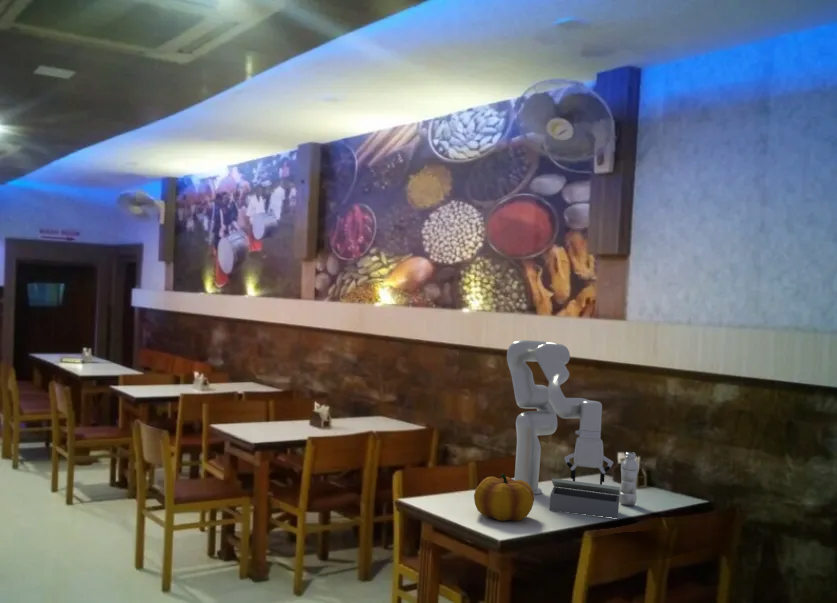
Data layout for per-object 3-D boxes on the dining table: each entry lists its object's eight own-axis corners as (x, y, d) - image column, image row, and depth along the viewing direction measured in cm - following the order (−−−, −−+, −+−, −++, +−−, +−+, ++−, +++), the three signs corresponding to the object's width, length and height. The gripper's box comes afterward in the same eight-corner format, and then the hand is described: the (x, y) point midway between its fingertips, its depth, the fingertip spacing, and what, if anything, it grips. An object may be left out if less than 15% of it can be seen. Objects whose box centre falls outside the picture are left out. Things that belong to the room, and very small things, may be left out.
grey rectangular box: (549, 510, 281) (550, 493, 281) (552, 502, 292) (553, 486, 292) (617, 519, 274) (618, 502, 274) (618, 511, 286) (619, 495, 286)
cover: (551, 481, 281) (551, 478, 282) (553, 486, 292) (554, 483, 292) (619, 489, 275) (620, 487, 275) (619, 495, 286) (619, 492, 286)
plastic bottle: (636, 508, 294) (640, 455, 294) (618, 505, 295) (622, 453, 295) (635, 504, 300) (639, 452, 300) (617, 501, 301) (621, 450, 301)
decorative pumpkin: (511, 529, 252) (514, 483, 252) (459, 513, 267) (462, 470, 267) (546, 520, 267) (549, 476, 267) (495, 505, 282) (498, 464, 282)
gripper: (564, 434, 280) (562, 481, 279) (614, 438, 275) (611, 487, 275) (566, 431, 287) (564, 478, 286) (614, 436, 282) (612, 483, 282)
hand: (587, 482), depth 281 cm, fingers open, 9 cm apart
